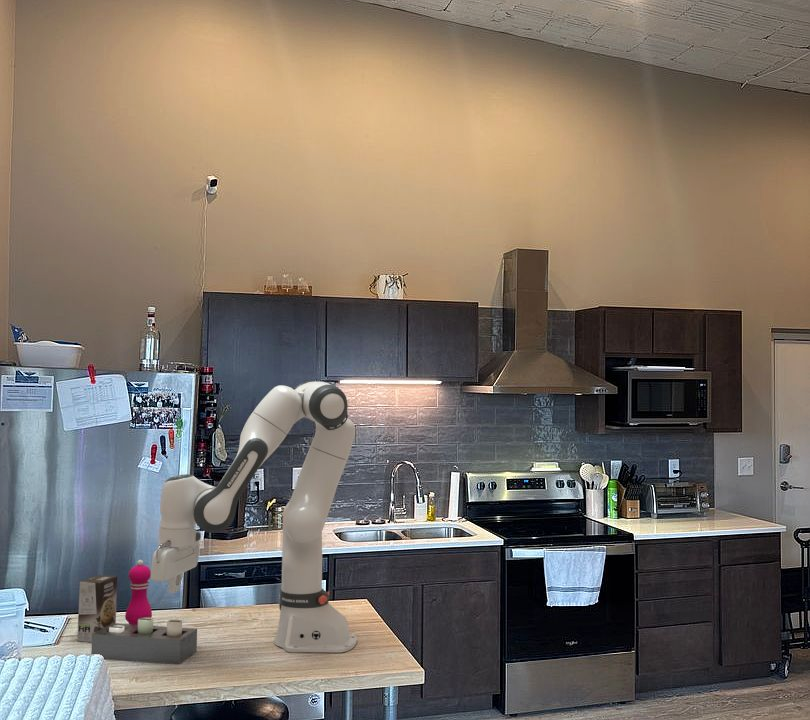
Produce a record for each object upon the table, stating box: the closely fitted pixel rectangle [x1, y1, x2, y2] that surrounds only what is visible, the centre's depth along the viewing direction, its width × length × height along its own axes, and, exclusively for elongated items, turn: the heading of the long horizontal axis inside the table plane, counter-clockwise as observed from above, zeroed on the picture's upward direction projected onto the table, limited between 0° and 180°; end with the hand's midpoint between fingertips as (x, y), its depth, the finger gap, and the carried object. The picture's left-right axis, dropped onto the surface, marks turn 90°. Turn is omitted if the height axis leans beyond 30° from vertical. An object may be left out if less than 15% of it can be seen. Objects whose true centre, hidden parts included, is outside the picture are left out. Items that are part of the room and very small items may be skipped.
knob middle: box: [138, 617, 154, 635], centre depth 206 cm, size 4×4×5 cm
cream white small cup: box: [166, 618, 183, 637], centre depth 204 cm, size 4×4×5 cm
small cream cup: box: [109, 625, 125, 633], centre depth 207 cm, size 4×4×5 cm
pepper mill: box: [124, 559, 153, 625], centre depth 226 cm, size 7×7×20 cm
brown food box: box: [76, 574, 118, 643], centre depth 220 cm, size 9×6×16 cm
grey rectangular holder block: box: [91, 622, 198, 665], centre depth 205 cm, size 24×10×6 cm, turn 80°
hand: (173, 592), depth 205 cm, fingers closed
